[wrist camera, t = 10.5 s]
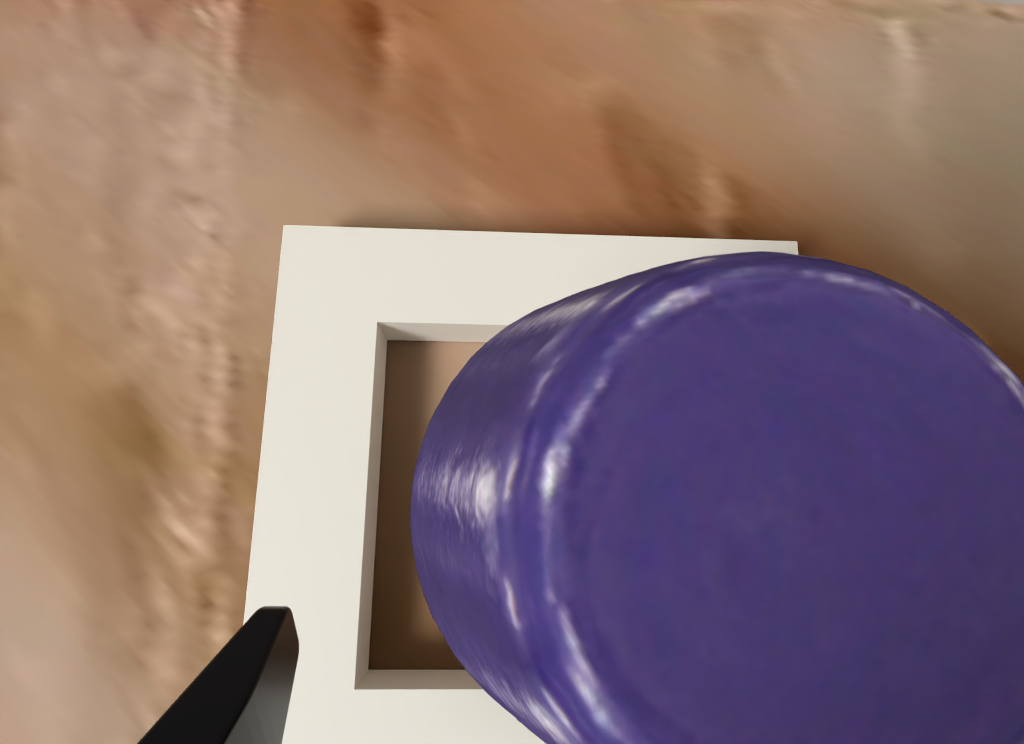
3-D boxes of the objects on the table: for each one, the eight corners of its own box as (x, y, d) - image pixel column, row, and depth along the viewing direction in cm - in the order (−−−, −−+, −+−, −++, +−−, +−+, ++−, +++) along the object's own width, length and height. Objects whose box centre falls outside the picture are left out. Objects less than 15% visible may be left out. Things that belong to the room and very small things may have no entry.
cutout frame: (811, 781, 18) (852, 814, 16) (253, 785, 17) (223, 821, 15) (768, 265, 21) (797, 241, 19) (302, 252, 21) (283, 225, 19)
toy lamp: (612, 579, 19) (1485, 1058, 2) (460, 589, 18) (312, 1209, 2) (598, 423, 20) (1149, 36, 3) (454, 431, 19) (320, 47, 3)
